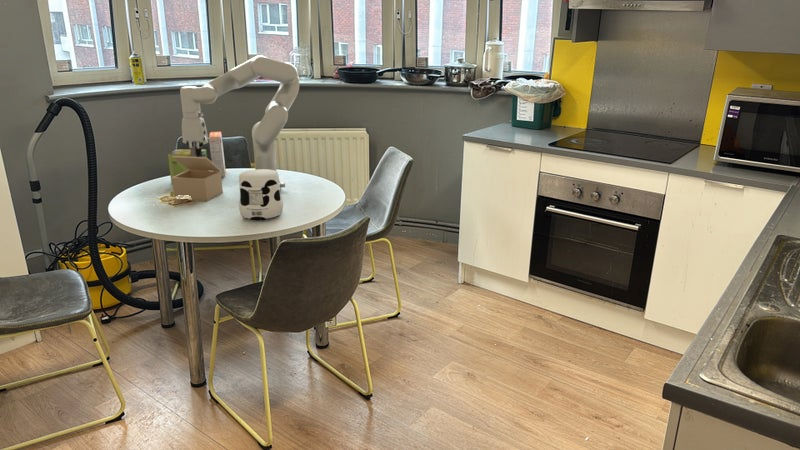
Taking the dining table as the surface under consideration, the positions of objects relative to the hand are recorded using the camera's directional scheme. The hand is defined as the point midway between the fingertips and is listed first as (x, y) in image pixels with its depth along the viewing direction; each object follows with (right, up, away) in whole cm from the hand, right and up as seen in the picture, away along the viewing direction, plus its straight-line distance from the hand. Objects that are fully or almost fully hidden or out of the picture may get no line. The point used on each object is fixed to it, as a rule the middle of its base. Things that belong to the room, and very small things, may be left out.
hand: (196, 156), depth 271 cm
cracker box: (-2, -5, +41) cm, 41 cm away
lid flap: (0, -3, +1) cm, 3 cm away
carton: (0, -17, +4) cm, 18 cm away
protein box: (-12, -10, +26) cm, 30 cm away
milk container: (+35, -27, -25) cm, 51 cm away
